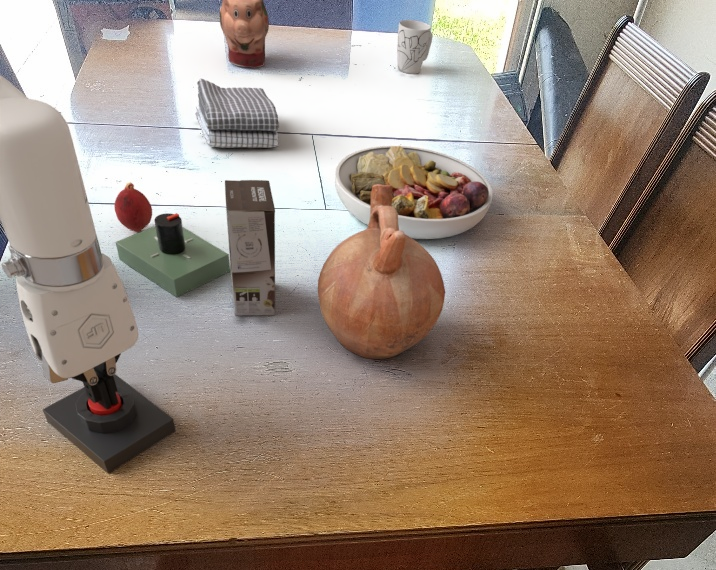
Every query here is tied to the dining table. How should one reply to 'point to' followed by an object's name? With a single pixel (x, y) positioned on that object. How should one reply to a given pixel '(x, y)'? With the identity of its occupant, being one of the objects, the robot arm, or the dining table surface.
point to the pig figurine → (245, 31)
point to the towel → (236, 116)
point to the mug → (413, 45)
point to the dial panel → (174, 261)
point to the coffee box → (251, 245)
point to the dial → (170, 233)
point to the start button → (100, 410)
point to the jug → (380, 286)
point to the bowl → (415, 189)
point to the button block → (111, 426)
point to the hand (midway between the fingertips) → (104, 400)
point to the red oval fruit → (133, 208)
